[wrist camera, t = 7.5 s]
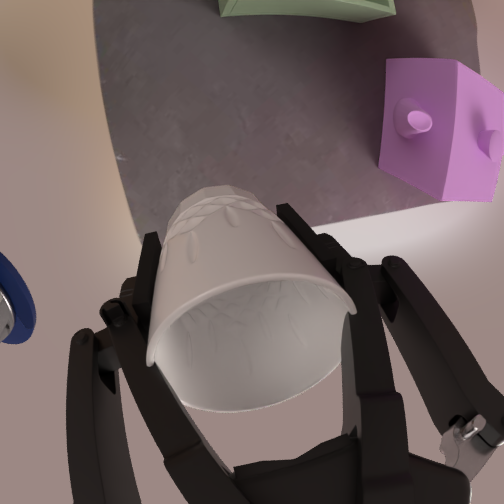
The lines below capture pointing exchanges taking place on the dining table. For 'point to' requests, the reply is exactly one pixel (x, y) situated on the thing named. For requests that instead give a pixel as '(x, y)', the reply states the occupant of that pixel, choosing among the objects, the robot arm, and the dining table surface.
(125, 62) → the dining table surface
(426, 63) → the teapot
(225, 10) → the crate
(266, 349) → the white cup
